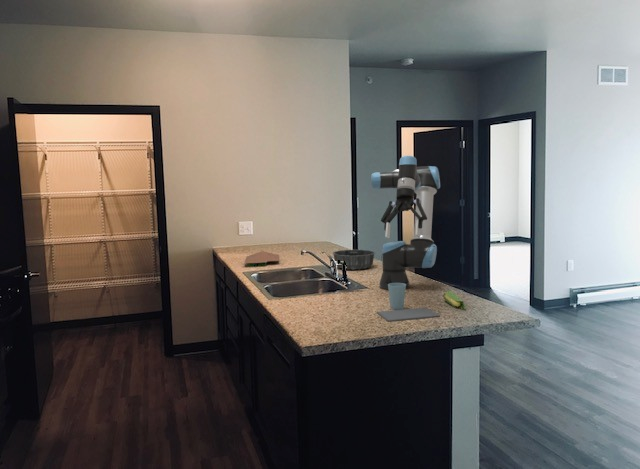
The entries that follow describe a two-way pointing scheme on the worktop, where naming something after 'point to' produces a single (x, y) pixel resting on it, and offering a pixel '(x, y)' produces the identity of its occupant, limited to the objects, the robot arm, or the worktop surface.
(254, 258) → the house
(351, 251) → the bundt pan
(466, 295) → the worktop surface
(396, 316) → the mat
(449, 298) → the edible corn
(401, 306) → the cup
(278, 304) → the worktop surface
